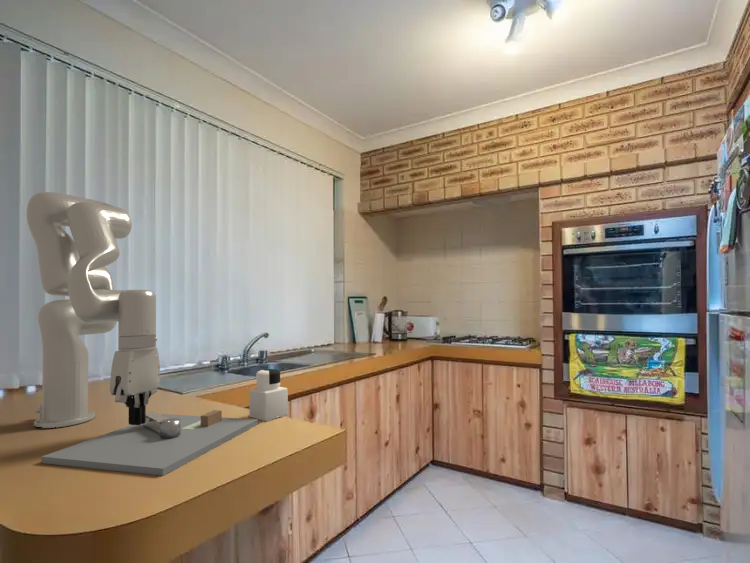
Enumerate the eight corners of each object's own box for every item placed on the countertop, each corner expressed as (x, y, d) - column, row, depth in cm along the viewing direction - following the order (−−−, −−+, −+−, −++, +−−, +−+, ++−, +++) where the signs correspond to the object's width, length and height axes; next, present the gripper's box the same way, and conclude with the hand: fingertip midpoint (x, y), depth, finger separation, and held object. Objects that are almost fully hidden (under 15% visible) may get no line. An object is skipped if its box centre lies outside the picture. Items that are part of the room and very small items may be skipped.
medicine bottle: (271, 411, 111) (271, 366, 112) (288, 415, 107) (287, 369, 107) (248, 417, 106) (248, 370, 106) (265, 422, 101) (265, 373, 102)
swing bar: (183, 434, 88) (183, 420, 88) (164, 439, 85) (164, 424, 85) (156, 421, 99) (156, 408, 99) (137, 425, 96) (138, 412, 96)
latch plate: (41, 463, 78) (41, 443, 78) (162, 418, 107) (162, 404, 107) (163, 475, 70) (163, 454, 70) (257, 424, 99) (257, 409, 99)
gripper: (149, 340, 103) (149, 414, 102) (94, 346, 88) (93, 433, 87) (174, 340, 101) (174, 415, 100) (122, 346, 86) (122, 435, 85)
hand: (137, 423), depth 94 cm, fingers closed
